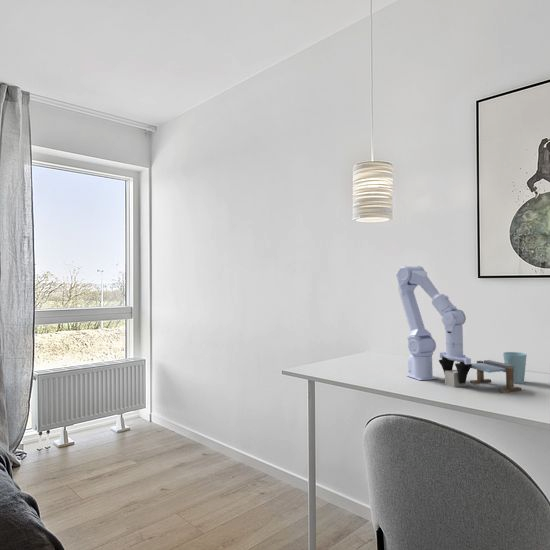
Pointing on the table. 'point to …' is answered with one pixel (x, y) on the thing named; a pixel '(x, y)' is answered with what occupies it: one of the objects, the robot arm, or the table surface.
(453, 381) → the stone
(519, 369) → the cup
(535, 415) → the table surface
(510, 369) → the stand
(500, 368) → the trapdoor
